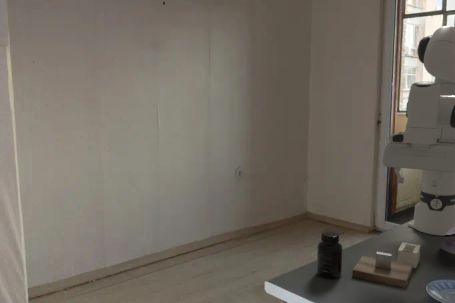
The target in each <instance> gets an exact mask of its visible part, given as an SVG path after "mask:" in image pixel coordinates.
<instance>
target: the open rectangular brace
mask: <svg viewBox="0 0 455 303" xmlns="http://www.w3.org/2000/svg"><path fill="white" fill-rule="evenodd" d="M420 256H421V245H419V244H414V243H409V242H404V241H403V242H401V244H400V246H399V248H398V250H397V261H396V262H400V263H405V264H410V265H413V268H414V269H416V268H417V267H418V264H419V261H420ZM413 268H412V269H413Z"/></svg>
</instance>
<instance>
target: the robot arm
mask: <svg viewBox="0 0 455 303" xmlns="http://www.w3.org/2000/svg"><path fill="white" fill-rule="evenodd" d="M416 50H417V52H416V54H417V56H418V60H419V62H420V63H422V64H423V66H424V69H425V70H426V72H427V73H428V74H429V75H430V76H432V77H434V81H430V80H429V81H418V82H414V83H411V86H410V89H409V93H408V97H407V98H408V99H407V103H406V108H405V109H406V110H405V116H406V118H407V120H406V121H407V122H406V124H405V129H404V130H405V131H399V132H397V133H393V134H390V135H389V136H388V138H387V139H388V142H389V143H387V144H386V146H385V147H384V151H383V156H382V165H383V166H384V167H386V168H387V167H388V168H394V173H395V175H396V177H397V183H398V184H404V182H405V176H401V173H400V172H401V169H409V170H419V171H422V172H421V174H422V177H421V178H422V181H421V182H422V185H421V186H422V187H421V190H420V194H419V200H420V201H419V202H418V203H416V204H415V205H414V213H413V220H411V221H409V222H408V224H407V226H408V227H410V228H413V229H414V230H416V231H418V232H422V233H424V234H428V235H434V236H441V237H442V236H443V237H446V236H445V235H446V233H447V232H448V231H449V230H450V229H451V228H453V227H455V26H452V25H451V26H450V25H444V26H441V27H438V29H437V28H436V30H435V31H434V32H433V34H430V35H426V36H424V37H422V38H421V39H419V43H418V45H417V49H416Z"/></svg>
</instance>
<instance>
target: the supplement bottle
mask: <svg viewBox="0 0 455 303" xmlns="http://www.w3.org/2000/svg"><path fill="white" fill-rule="evenodd" d="M316 249H317V253H316V256H317V258H316V273H317V275H318V276H319V277H320V278H321V279H327V280H336V279H339V278H340V277H341V276H342V274H343V273H342V272H343V270H342V269H343V245H342V244H341V242H340V233H338V232H336V231H331V230H327V231H323V232H321V238H320V241H319V242H318V244H317V248H316Z"/></svg>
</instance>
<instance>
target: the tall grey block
mask: <svg viewBox="0 0 455 303" xmlns="http://www.w3.org/2000/svg"><path fill="white" fill-rule="evenodd" d="M392 257H393V254H392V253H388V252H387V253H386V252H382V251H376V253H375V258H376V261H375V267H378V268H383V269H388V270H390V269H391V261H393V260H392V259H393V258H392Z"/></svg>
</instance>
